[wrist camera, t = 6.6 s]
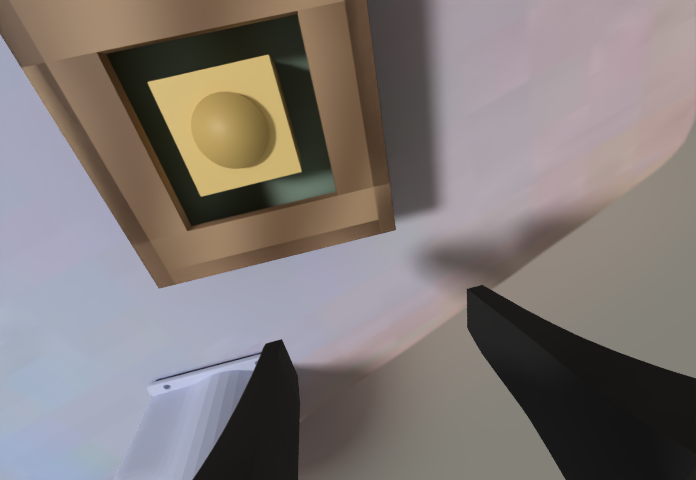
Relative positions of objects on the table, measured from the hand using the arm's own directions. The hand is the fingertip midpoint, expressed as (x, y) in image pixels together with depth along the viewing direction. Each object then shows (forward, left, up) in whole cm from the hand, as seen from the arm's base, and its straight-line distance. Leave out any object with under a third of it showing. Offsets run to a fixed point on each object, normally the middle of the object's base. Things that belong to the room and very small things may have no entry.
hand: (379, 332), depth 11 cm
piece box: (-4, +8, -9) cm, 13 cm away
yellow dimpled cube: (-4, +8, -9) cm, 12 cm away
